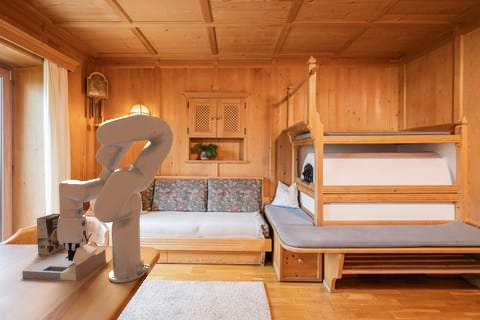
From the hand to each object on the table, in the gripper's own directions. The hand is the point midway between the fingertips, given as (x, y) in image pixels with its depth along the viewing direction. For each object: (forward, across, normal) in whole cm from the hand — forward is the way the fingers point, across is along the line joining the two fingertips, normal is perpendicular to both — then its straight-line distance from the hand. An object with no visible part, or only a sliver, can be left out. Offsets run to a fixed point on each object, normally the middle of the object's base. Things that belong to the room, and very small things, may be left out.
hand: (73, 259), depth 106 cm
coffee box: (+5, +23, -16) cm, 28 cm away
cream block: (0, -4, 0) cm, 4 cm away
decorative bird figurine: (+4, +7, -15) cm, 17 cm away
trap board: (+4, +3, 0) cm, 5 cm away
